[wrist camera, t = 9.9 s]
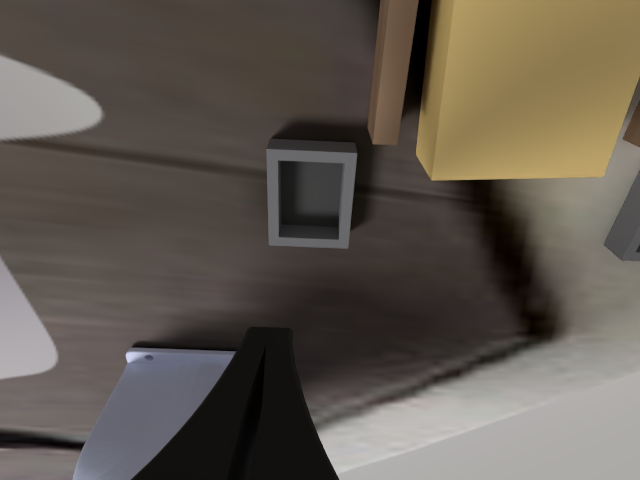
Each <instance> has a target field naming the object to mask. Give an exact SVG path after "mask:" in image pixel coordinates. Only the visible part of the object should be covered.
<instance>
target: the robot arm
mask: <svg viewBox="0 0 640 480" xmlns="http://www.w3.org/2000/svg"><path fill="white" fill-rule="evenodd" d="M292 336H293V331H292V330H291V329H289V328H269V327H250V328H249V329H248V330H247V332H246V334H245V336H244V338H243V340H242V342H241V344H240V346H239V347H238V349H237V351H210V350H184V349H157V348H130V349H129V350H128V351H127V353H126V359H127V362H128V364H127V366H126V368H125V369H124V371H123V373H122V375H121V377H120V379H119V381H118V383H117V384H116V386H115V388H114V390H113V392H112V394H111V396H110V398H109V399H108V401H107V403H106V405H105V407H104V409H103V411H102V413H101V414H100V416H99V418H98V420H97V422H96V424H95V426H94V428H93V429H92V431H91V433H90V435H89V437H88V439H87V441H86V443H85V445H84V447H83V449H82V452H81V454H80V457H79V459H78V463H77V466H76V469H75V472H74V476H73V480H339V478H338V476H337V474H336V472H335V470H334V468H333V466H332V464H331V462H330V460H329V458H328V456H327V454H326V452H325V450H324V448H323V445H322V443H321V441H320V439H319V436H318V434H317V431H316V429H315V426H314V424H313V421H312V419H311V416H310V413H309V410H308V407H307V404H306V401H305V398H304V395H303V392H302V389H301V385H300V381H299V377H298V373H297V369H296V365H295V359H294V353H293V345H292ZM150 355H151V356H150Z"/></svg>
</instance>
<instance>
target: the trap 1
mask: <svg viewBox="0 0 640 480" xmlns="http://www.w3.org/2000/svg"><path fill="white" fill-rule="evenodd" d="M266 150H267V189H268V229H269V245H273V246H297V247H320V248H344V249H348V245H349V234H350V224H351V213H352V203H353V193H354V182H355V172H356V161H357V149H356V145H355V143H354V142H333V141H311V140H289V139H270V141H269V144H268V146H267V149H266Z"/></svg>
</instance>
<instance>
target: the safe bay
mask: <svg viewBox="0 0 640 480" xmlns="http://www.w3.org/2000/svg"><path fill="white" fill-rule="evenodd" d="M418 1H419V0H381V2H380V11H379V21H378V30H377V39H376V49H375V58H374V68H373V77H372V87H371V96H370V106H369V115H368V125H367V128H368V131H369V134H370V137H371V140H372V143H373V144H380V145H397V143H398V136H399V129H400V123H401V116H402V109H403V102H404V96H405V89H406V82H407V75H408V68H409V62H410V55H411V48H412V41H413V35H414V28H415V21H416V14H417V8H418ZM623 140H625V141H628V142H630V143H632V144H634V145H636V146H638V147H640V101H639V104H638V106H637V108H636V110H635V113H634V115H633V117H632V119H631V122H630V124H629V126H628V128H627V131H626V133H625V135H624V137H623Z"/></svg>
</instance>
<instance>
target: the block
mask: <svg viewBox="0 0 640 480" xmlns="http://www.w3.org/2000/svg"><path fill="white" fill-rule="evenodd" d="M639 77H640V0H432V3H431V13H430V22H429V32H428V42H427V51H426V61H425V71H424V81H423V90H422V100H421V110H420V119H419V129H418V139H417V149H416V155H417V157H418V159H419V160H420V162H421V164H422V165H423V167H424V169H425V170H426V172H427V174H428V175H429V177H430V179H431V180H475V179H525V178H575V177H604V174H605V171H606V168H607V165H608V163H609V160H610V157H611V154H612V152H613V149H614V146H615V143H616V141H617V138H618V135H619V132H620V130H621V127H622V124H623V121H624V119H625V116H626V113H627V110H628V108H629V105H630V102H631V99H632V97H633V94H634V91H635V88H636V86H637V83H638V80H639Z"/></svg>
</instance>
